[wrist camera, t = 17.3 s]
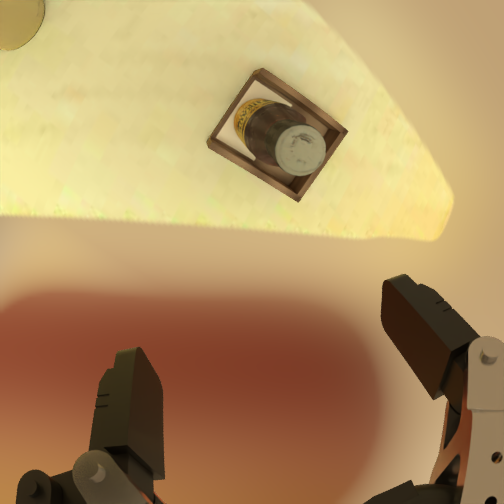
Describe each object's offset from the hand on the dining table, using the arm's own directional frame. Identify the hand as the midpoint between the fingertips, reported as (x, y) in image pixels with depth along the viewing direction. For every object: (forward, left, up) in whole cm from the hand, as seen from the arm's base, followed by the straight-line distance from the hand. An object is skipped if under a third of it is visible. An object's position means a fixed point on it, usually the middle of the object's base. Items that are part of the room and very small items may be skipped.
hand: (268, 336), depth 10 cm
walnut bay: (+9, 0, -36) cm, 37 cm away
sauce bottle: (+7, +2, -35) cm, 36 cm away
